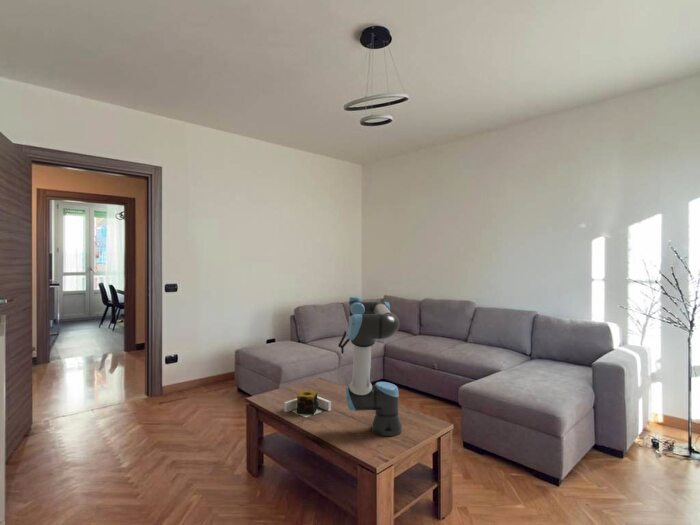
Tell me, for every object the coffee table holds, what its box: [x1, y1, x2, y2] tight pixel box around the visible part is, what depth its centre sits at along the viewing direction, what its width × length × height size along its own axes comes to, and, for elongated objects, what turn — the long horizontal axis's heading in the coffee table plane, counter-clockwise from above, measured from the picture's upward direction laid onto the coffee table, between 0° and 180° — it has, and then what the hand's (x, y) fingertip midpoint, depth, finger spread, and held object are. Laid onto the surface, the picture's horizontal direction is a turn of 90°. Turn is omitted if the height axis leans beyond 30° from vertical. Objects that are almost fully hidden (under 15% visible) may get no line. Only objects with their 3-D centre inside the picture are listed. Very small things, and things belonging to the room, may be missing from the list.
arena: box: [283, 395, 332, 413], centre depth 219 cm, size 18×20×5 cm
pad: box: [292, 408, 323, 418], centre depth 218 cm, size 12×12×1 cm
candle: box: [296, 390, 319, 416], centre depth 218 cm, size 10×10×10 cm
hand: (355, 358), depth 226 cm, fingers open, 13 cm apart
